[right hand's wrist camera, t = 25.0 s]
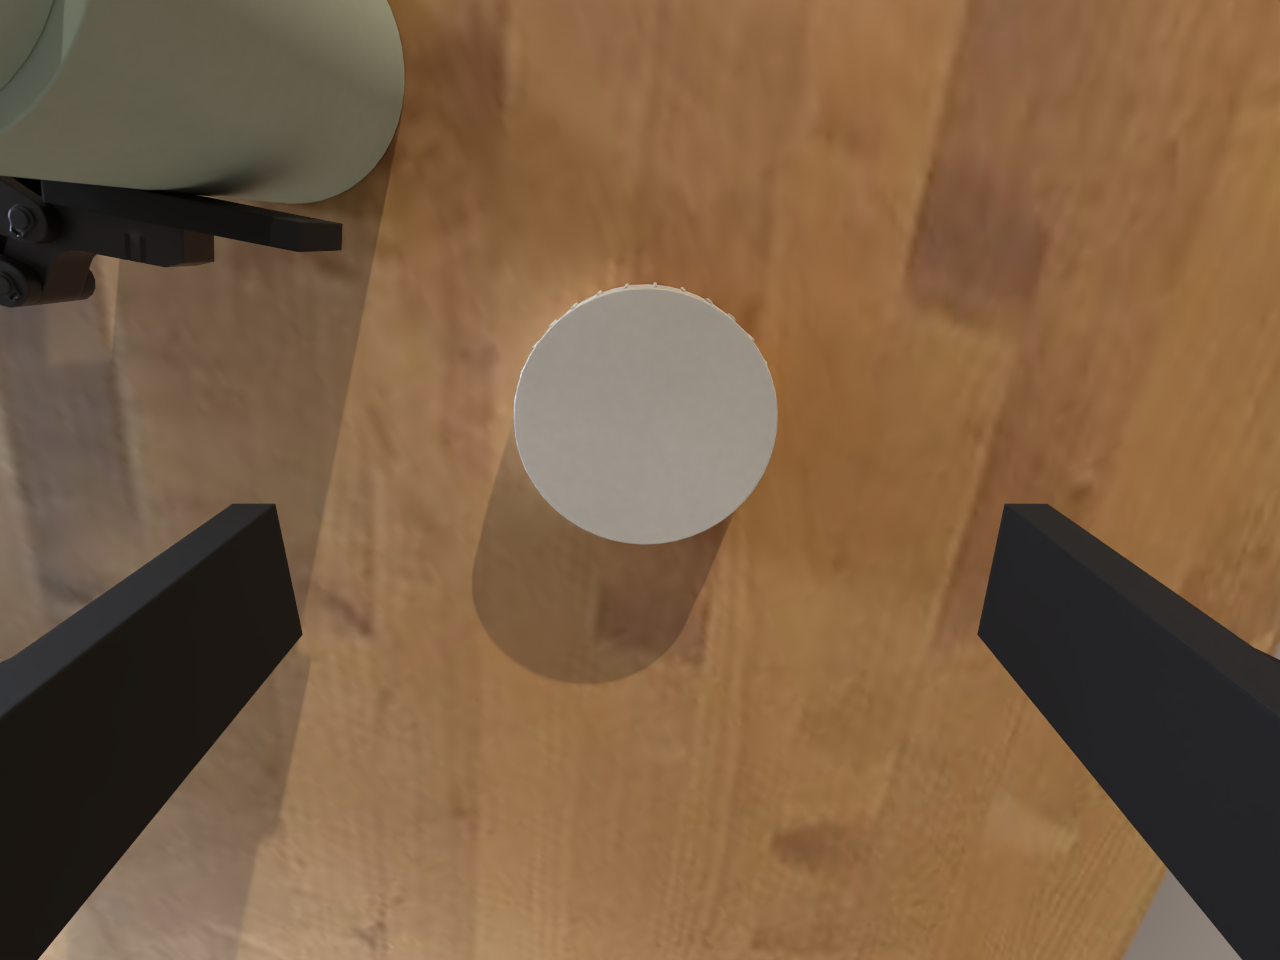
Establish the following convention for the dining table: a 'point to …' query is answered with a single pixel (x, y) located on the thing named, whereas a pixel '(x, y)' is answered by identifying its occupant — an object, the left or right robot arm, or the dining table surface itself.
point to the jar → (200, 94)
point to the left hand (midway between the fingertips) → (327, 39)
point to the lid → (645, 414)
